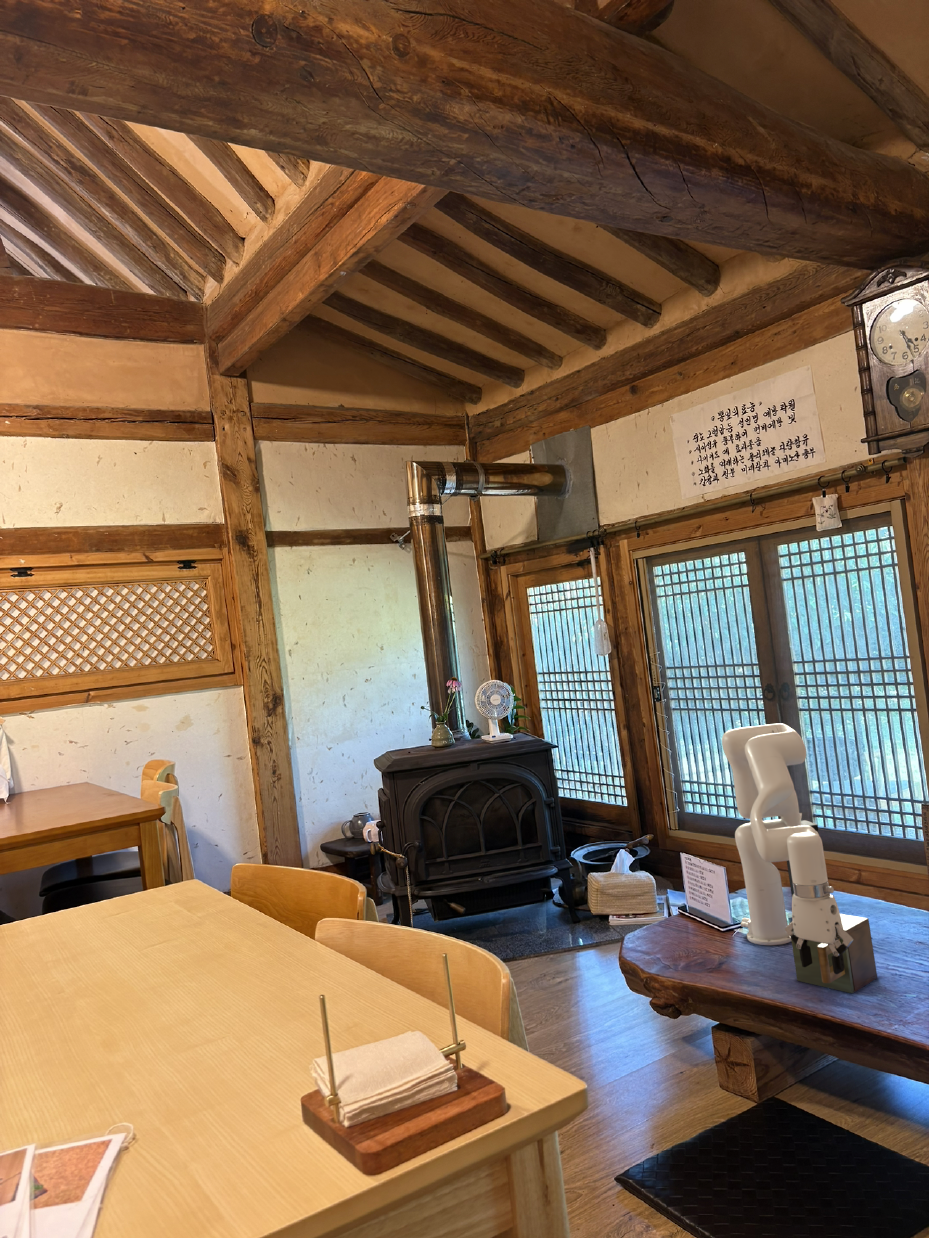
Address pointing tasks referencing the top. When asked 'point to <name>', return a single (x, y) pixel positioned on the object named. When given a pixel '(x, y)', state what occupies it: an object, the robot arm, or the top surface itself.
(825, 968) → the door
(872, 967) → the cupboard
